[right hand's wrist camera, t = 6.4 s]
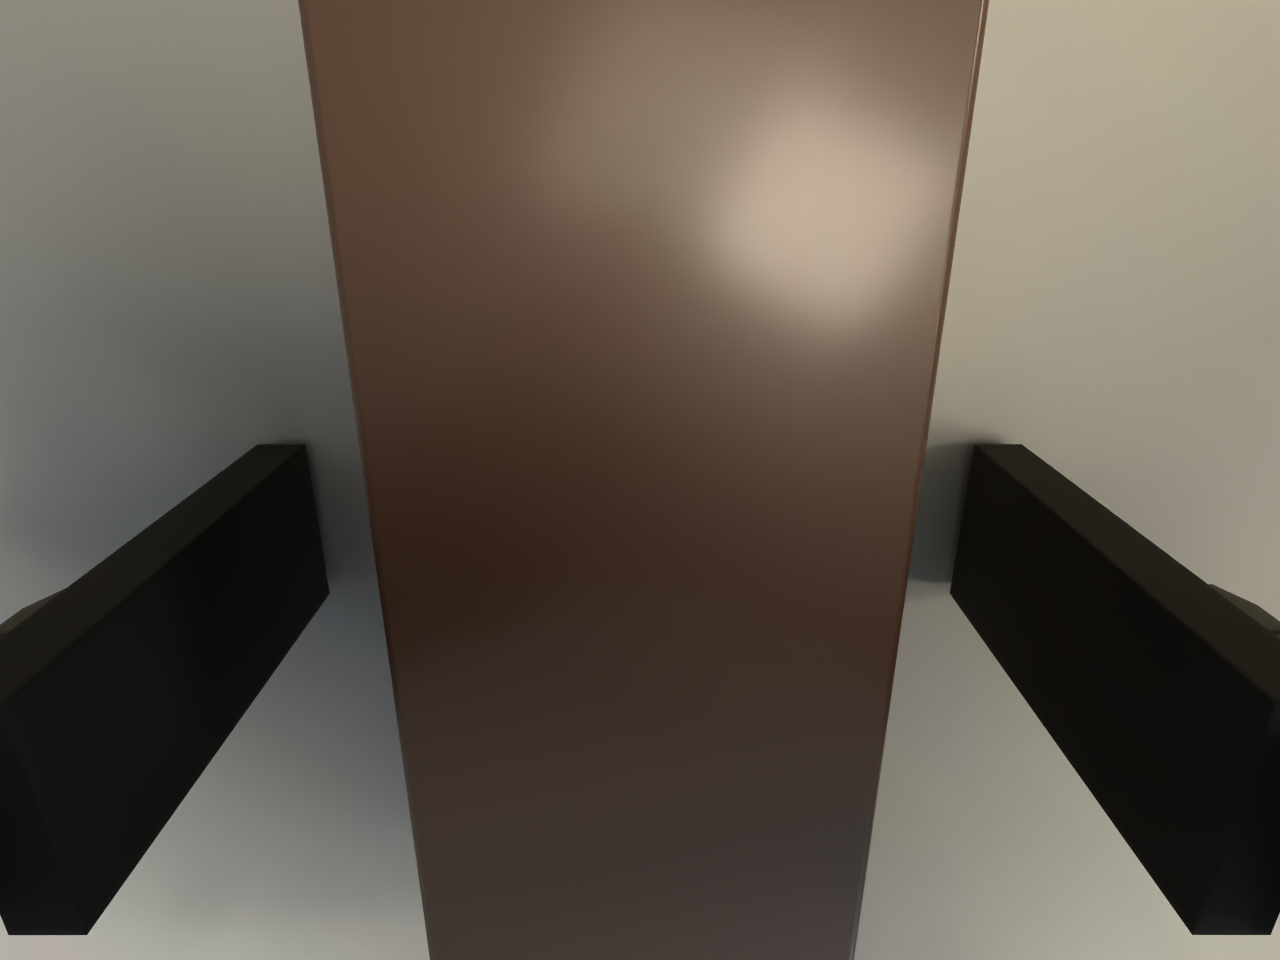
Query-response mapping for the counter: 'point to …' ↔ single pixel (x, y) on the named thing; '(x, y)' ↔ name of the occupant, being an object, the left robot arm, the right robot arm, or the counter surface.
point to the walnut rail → (642, 441)
